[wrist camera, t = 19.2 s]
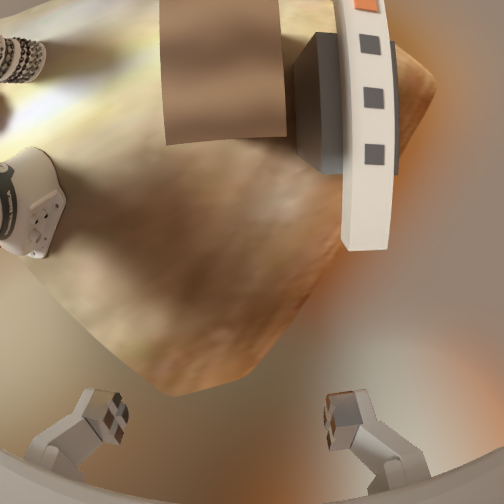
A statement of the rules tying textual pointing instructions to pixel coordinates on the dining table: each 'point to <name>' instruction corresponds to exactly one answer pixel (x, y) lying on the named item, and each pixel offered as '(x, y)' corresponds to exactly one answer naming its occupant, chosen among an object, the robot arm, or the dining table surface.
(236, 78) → the walnut post
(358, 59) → the power strip
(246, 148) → the dining table surface
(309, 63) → the dark grey block
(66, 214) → the dining table surface
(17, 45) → the decorative candle
